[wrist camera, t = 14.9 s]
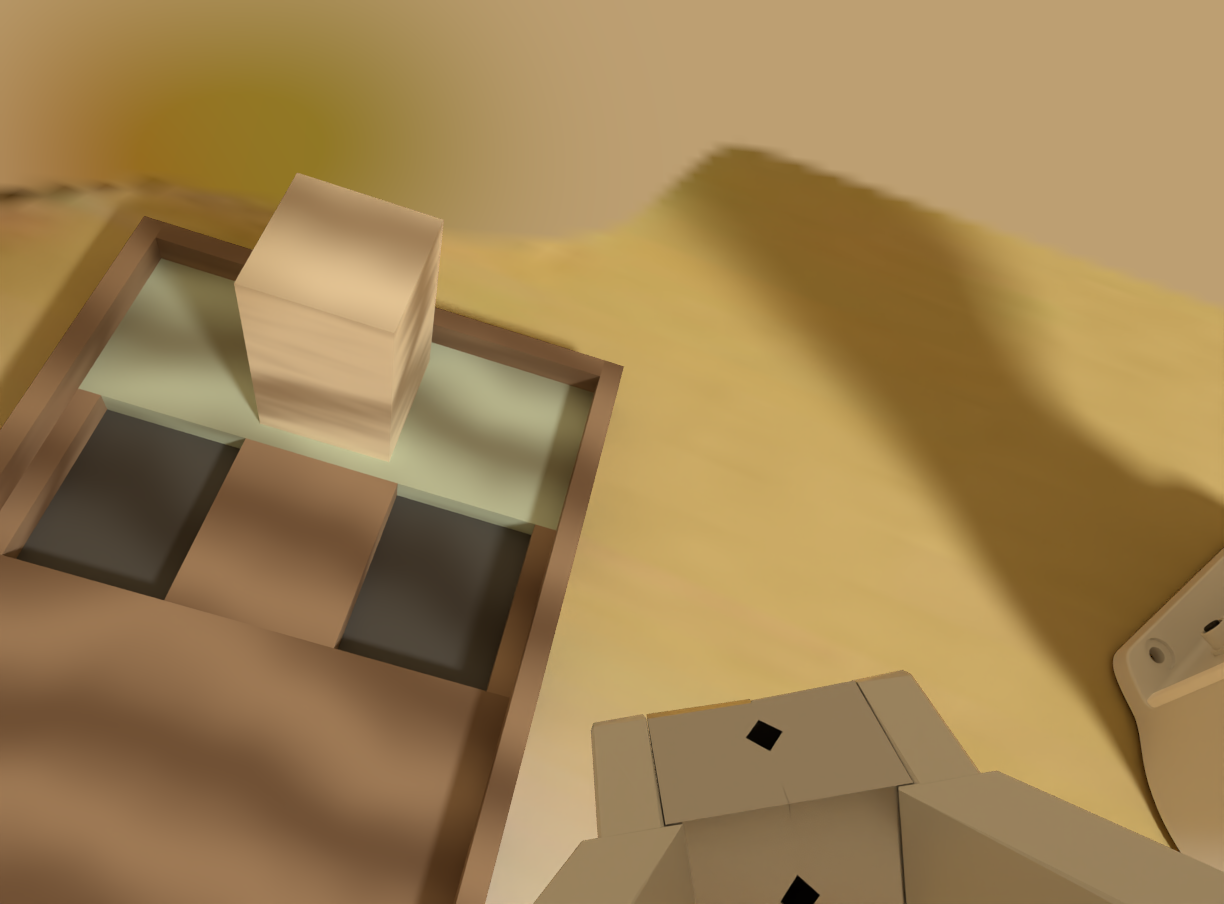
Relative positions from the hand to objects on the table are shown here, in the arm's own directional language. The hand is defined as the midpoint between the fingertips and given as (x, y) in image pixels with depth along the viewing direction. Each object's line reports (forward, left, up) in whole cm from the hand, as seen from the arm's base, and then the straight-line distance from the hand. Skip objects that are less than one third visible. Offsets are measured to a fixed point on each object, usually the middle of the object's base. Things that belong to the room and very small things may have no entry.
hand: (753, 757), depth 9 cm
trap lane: (-3, -16, -32) cm, 36 cm away
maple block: (-12, -21, -30) cm, 39 cm away
